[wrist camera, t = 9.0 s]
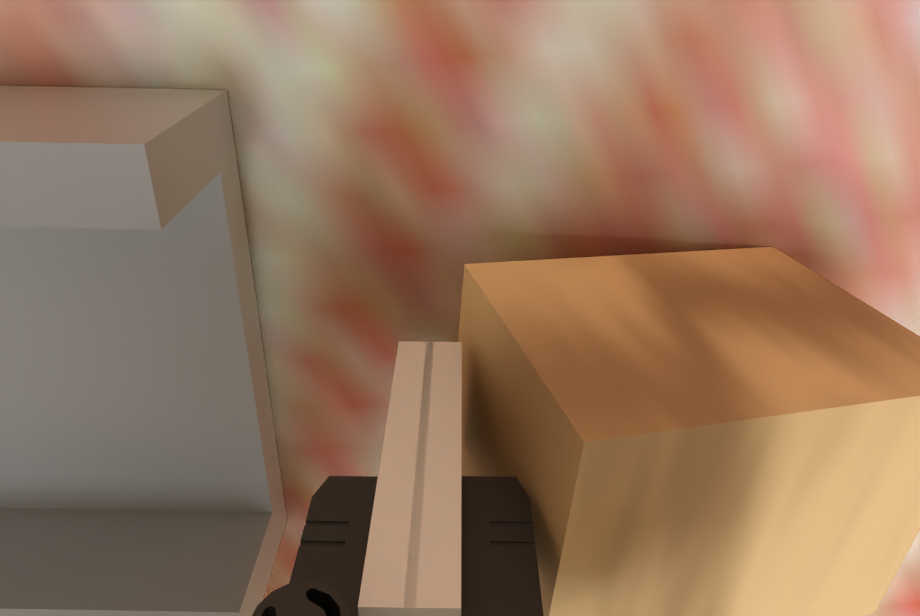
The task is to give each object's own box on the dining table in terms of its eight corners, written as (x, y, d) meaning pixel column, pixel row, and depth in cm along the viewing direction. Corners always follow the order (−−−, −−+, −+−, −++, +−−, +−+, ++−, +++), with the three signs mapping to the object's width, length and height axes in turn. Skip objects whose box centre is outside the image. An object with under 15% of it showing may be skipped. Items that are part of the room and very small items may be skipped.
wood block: (532, 697, 13) (874, 612, 15) (584, 442, 10) (998, 385, 12) (446, 475, 18) (712, 437, 20) (464, 263, 15) (773, 246, 17)
